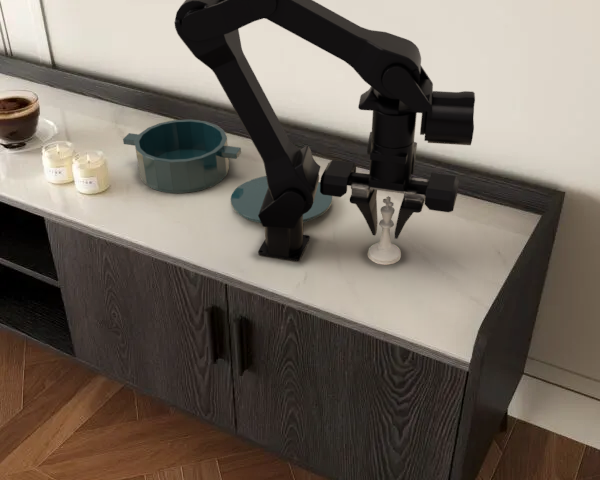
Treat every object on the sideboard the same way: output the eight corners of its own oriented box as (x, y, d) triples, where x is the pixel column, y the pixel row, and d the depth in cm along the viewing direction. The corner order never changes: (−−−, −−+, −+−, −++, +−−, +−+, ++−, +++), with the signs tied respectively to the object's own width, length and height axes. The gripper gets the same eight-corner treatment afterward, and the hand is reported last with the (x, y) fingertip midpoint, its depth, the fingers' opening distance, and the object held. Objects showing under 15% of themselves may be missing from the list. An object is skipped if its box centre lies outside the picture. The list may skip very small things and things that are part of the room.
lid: (312, 235, 116) (312, 206, 113) (214, 218, 121) (211, 189, 118) (344, 188, 129) (345, 160, 126) (254, 174, 134) (253, 147, 131)
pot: (224, 201, 126) (222, 169, 123) (110, 184, 131) (104, 152, 127) (254, 157, 138) (253, 126, 134) (148, 143, 143) (144, 113, 139)
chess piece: (383, 268, 111) (388, 210, 105) (360, 254, 114) (363, 196, 108) (407, 256, 114) (413, 198, 107) (384, 241, 117) (388, 184, 110)
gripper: (469, 120, 106) (456, 216, 116) (339, 106, 110) (337, 199, 120) (460, 158, 97) (446, 257, 107) (319, 140, 102) (318, 237, 111)
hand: (385, 235), depth 112 cm, fingers open, 3 cm apart
